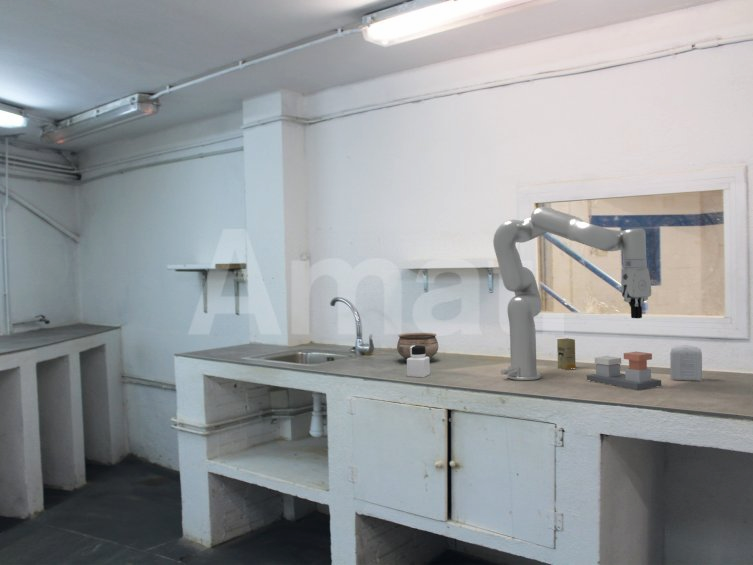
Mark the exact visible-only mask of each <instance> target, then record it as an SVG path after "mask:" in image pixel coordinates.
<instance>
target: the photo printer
mask: <svg viewBox="0 0 753 565" xmlns="http://www.w3.org/2000/svg"><path fill="white" fill-rule="evenodd" d="M669 354H670V355H669V356H670V360H669V361H670V362H669V363H670V367H669V368H670V370H669V371H670V380H672V381H692V380H693V381H695V382H696V381H697V382H701V381H703V352H702V349H701V348H700V347H697V346H693V345H677V346H672V347H671V350H670V353H669ZM693 381H692V382H693Z"/></svg>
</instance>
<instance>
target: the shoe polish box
mask: <svg viewBox="0 0 753 565" xmlns="http://www.w3.org/2000/svg"><path fill="white" fill-rule="evenodd" d="M556 339H557V341H556V342H557V343H556V344H557V345H556V346H557V347H556V348H557V369H559V368H562V369H561V370H563V369H571V368H577V367H576V340H575V339H574V338H569V337H568V338H556ZM571 370H572V369H571Z"/></svg>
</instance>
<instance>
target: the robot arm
mask: <svg viewBox="0 0 753 565" xmlns="http://www.w3.org/2000/svg"><path fill="white" fill-rule="evenodd" d="M547 233H548V234H552V235H555V236H558V237H561V238H564V239H566V240H570V241H572V242H575V243H579V244H582V245H584V246H586V247H587V246H588V247H590V248H592V249H593V248H594V249H597V250H600V251H603V252H619V251H622V273H621V282H620V283H621V289H620V290H621V296H622V298H623V302H625V303H628V305H629V307H630V318H631V319H642V318H643V306H644V302H645V301H648V299H649V297H651V296H652V284H651V276H650V270H649V268H648V264H647V263H648V262H647V240H646V239H647V238H646V236H647V235H646V234H647V233H646V230H645V229H644V228H627V229H624V230H616V229H611V228H610V229H609V228H605V227H603V226H599V225H596V224H593V223H589V222H587V221H585V220H583V219H581V218H580V217H578V216H576V215H572V214H569V213H566V212H562V211H559V210H556V209H554V208H552V207H547V206H538V207H536V208H535V209H533V211H532V212H531V214H530V216H529V217H526V218H525V219H523V220H518V219H509V220H506V221H504V222H502V224H500V225H499V226H498V228H497V229H496V231H495V233H494V235H493V241H492V242H493V249H494V253H495V256H496V259H497V264H498V268H499V271H500V275H501V279H502V284H503V286H504V288H505V290H507V291H509V292H513V293H514V296H513V297H512V298H510V300H509V301H508V304H507V310H506V311H507V317H508V325H509V347H510V348H509V351H510V353H509V354H510V365H508V368H507V369H501V370H500V374H501V375H502V376H503V375H506V378H508V379H509V380H513V381H536V380H539V379H541V378H542V375H541V373H538V372H537V370H538V369H537V340H536V338H537V337H536V336H537V335H536V325H535V317H537V316H538V315H539V314H540V312H541V311H542V308H543V303H542V299H541V294H540V292H539V291H540V290H539V288H538V284H537V280H536V277H535V275H534V273H533V272H532V270H530V269H529V268H527V267H524V266H523V263H522V260H521V254H520V252H519V250H518V249H517V246H516V243H519V244H520V243H526V242H529V241H531V240H533V239H536V238H538V237H540V236H542V235H544V234H547Z"/></svg>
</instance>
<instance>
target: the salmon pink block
mask: <svg viewBox="0 0 753 565" xmlns="http://www.w3.org/2000/svg"><path fill="white" fill-rule="evenodd" d="M623 359H624V360H628V368H629V369H634V370H644V369H647V368H648V367H647V366H648V361H649V360H653V353H650V352H644V351H643V352H641V351H630V352H624V353H623Z"/></svg>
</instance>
